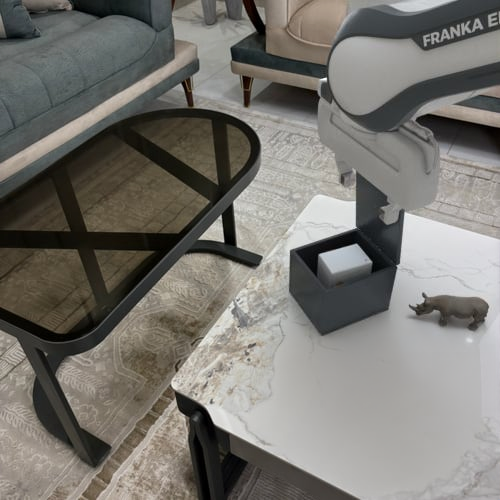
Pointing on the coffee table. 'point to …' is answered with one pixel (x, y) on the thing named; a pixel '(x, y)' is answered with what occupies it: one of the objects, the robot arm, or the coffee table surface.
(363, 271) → the small box
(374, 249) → the bin
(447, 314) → the rhino figurine
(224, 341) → the coffee table surface
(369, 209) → the bin lid
